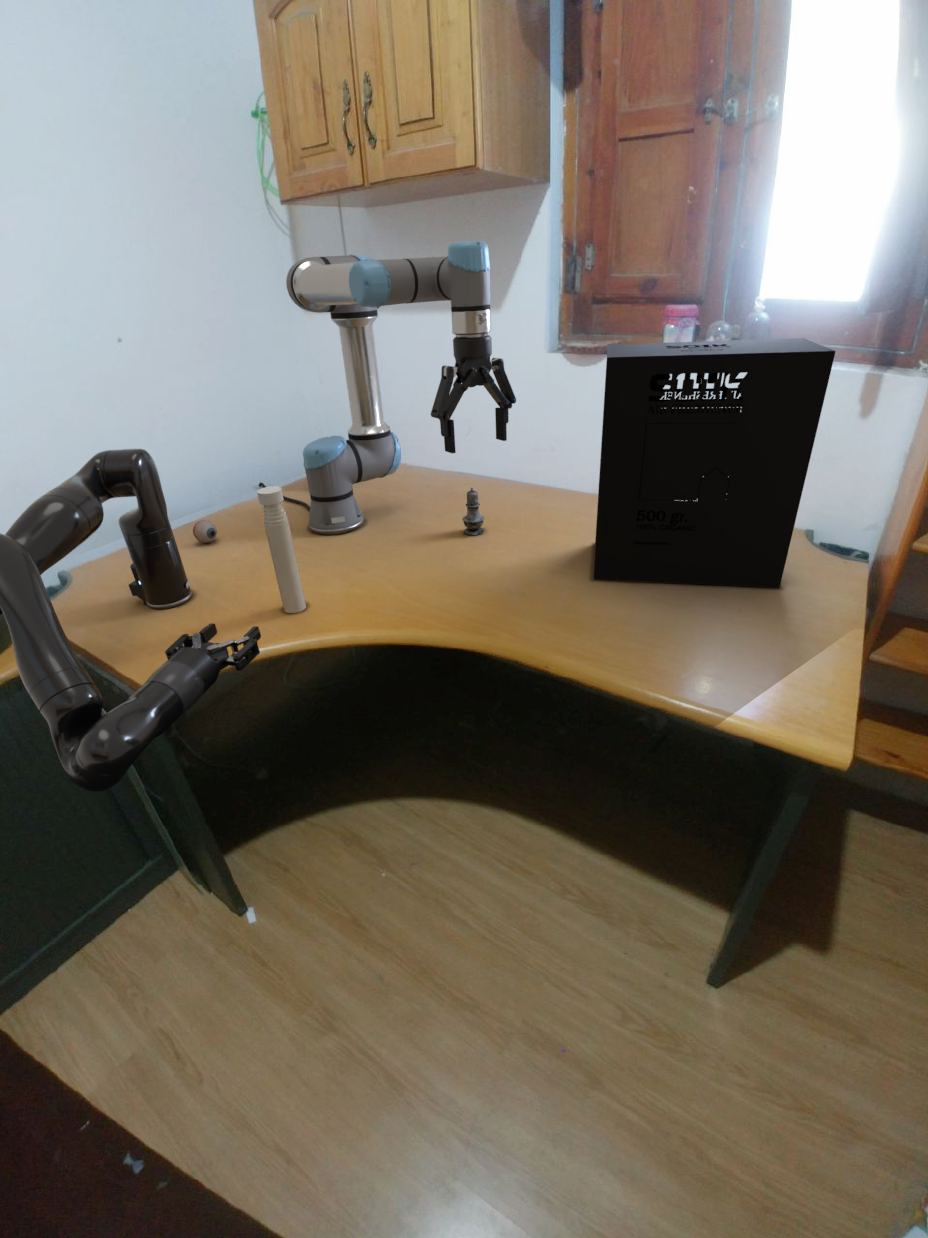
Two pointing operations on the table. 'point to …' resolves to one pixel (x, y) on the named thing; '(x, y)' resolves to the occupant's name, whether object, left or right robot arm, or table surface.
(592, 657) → the table surface
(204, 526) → the eyeball
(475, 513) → the salt shaker
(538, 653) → the table surface
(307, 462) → the right robot arm
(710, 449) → the cardboard box
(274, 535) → the bottle
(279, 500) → the cap
